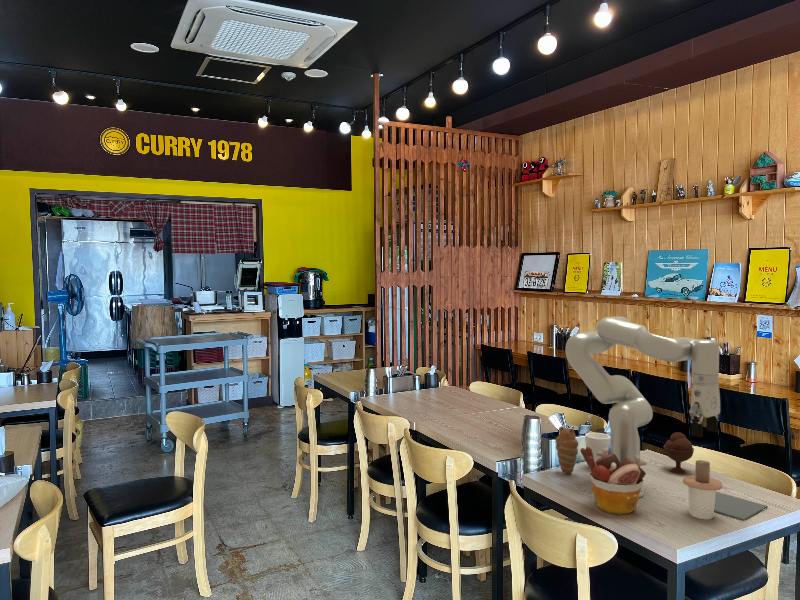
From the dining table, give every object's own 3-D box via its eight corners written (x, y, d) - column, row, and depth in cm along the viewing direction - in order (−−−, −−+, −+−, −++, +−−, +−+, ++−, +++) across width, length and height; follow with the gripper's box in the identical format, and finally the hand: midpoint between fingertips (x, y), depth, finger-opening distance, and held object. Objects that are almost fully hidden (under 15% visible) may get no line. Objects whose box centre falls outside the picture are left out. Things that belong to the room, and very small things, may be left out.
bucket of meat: (637, 500, 199) (638, 441, 198) (653, 519, 182) (655, 456, 182) (576, 497, 201) (577, 439, 200) (587, 516, 184) (588, 453, 184)
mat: (743, 521, 182) (743, 519, 182) (691, 505, 195) (691, 503, 194) (767, 507, 193) (767, 505, 193) (717, 493, 205) (717, 491, 205)
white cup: (685, 516, 185) (686, 485, 185) (689, 508, 192) (690, 478, 191) (713, 522, 181) (714, 490, 180) (716, 514, 187) (717, 483, 187)
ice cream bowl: (656, 469, 231) (657, 431, 231) (676, 465, 236) (677, 428, 235) (679, 477, 221) (680, 438, 221) (700, 473, 226) (701, 435, 226)
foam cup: (602, 474, 225) (602, 440, 225) (580, 468, 232) (580, 435, 232) (614, 468, 232) (614, 436, 231) (592, 463, 239) (593, 431, 238)
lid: (712, 493, 178) (712, 470, 178) (676, 483, 187) (676, 461, 186) (728, 485, 185) (728, 463, 185) (692, 476, 194) (693, 454, 193)
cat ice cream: (551, 473, 226) (552, 426, 225) (562, 469, 231) (563, 423, 230) (571, 479, 219) (572, 431, 219) (583, 474, 225) (583, 427, 224)
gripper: (703, 383, 176) (703, 440, 177) (730, 378, 187) (729, 431, 187) (679, 380, 182) (678, 435, 183) (706, 375, 193) (705, 427, 193)
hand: (704, 433), depth 185 cm, fingers open, 9 cm apart
